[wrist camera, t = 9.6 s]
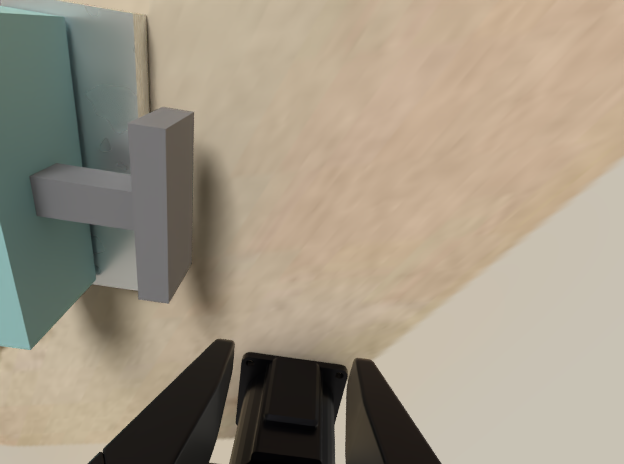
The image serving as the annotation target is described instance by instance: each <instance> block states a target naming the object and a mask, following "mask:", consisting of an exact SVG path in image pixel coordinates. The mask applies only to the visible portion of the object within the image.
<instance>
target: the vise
mask: <svg viewBox="0 0 624 464" xmlns="http://www.w3.org/2000/svg"><path fill="white" fill-rule="evenodd" d="M0 6H4V7H10V8H16V9H22V10H28V11H34V12H40V13H45V14H51V15H57V16H63V17H64V18H65V26H66V35H67V43H68V51H69V59H70V68H71V76H72V84H73V92H74V101H75V109H76V117H77V125H78V134H79V142H80V150H81V159H82V167H85V168H92V169H98V170H104V171H111V172H117V173H124V174H130V175H131V171H130V155H129V139H128V123H129V122H131V121H133V120H135V119H137V118H140V117H142V116H144V115H146V114H148V113H150V107H149V79H148V52H147V24H146V15H144V14H138V13H133V12H127V11H121V10H115V9H110V8H104V7H98V6H92V5H86V4H81V3H75V2H69V1H63V0H0ZM89 225H90V233H91V241H92V249H93V258H94V266H95V274H96V280H95V281H94V282H93V284H94V285H101V286H108V287H115V288H122V289H129V290H136V291H138V283H137V267H136V251H135V235H134V231H133V230H127V229H120V228H113V227H107V226H100V225H93V224H89Z"/></svg>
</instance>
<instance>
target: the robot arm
mask: <svg viewBox="0 0 624 464" xmlns="http://www.w3.org/2000/svg"><path fill="white" fill-rule="evenodd" d="M234 348H235V343H234V341H232V340H226V339H217V340H215V341H214V342H213V343H212V344H211V345H210V346H209V347H208V348H207V349H206V350H205V351H204V352H203V353H202V354H201V355H200V356H199V357H198V358H197V359H196V360H194V361H193V362H192V363H191V364H190V365H189V366H188V367H187V368H186V369H185V370H184V371H183V372H182V373H181V374H180V375H179V376H178V377H177V378H176V379H175V380H174V381H173V382H172V383H171V384H170V385H169V386H168V387H167V388H166V389H164V390H163V391H162V392H161V393H160V394H159V395H158V396H157V397H156V398H155V399H154V400H153V401H152V402H151V403H150V404H149V405H148V406H147V407H146V408H145V409H144V410H143V411H142V412H141V413H140V414H139V415H138V416H137V417H136V418H135V419H133V420H132V421H131V422H130V423H129V424H128V425H127V426H126V427H125V428H124V429H123V430H122V431H121V432H120V433H119V434H118V435H117V436H116V437H115V438H114V439H113V440H112V441H111V442H110V443H109V444H108V445H107V446H106V447H105V448H104V449H103V453H102V452H99V453H98V454H97V455H96V456H95V457H94V458H93V459H92V460H91V461H90V462H89V463H88V464H214V463H209V460H210V458H211V455H212V452H213V449H214V446H215V443H216V440H217V436H218V432H219V428H220V424H221V419H222V415H223V410H224V406H225V402H226V397H227V393H228V389H229V384H230V380H231V375H232V370H233V360H234ZM248 360H251V361H252V362H250V361H248ZM338 373H341V374H338ZM347 377H348V374H347V368H346V367H345V366H343V365H338V364H331V363H324V362H317V361H310V360H302V359H295V358H288V357H281V356H273V355H266V354H259V353H252V352H248V353H246V354H244V356H243V359H242V363H241V373H240V384H239V394H238V404H237V414H236V424H237V426H238V427H237V431H236V436H235V440H234V445H233V449H232V454H231V459H230V463H229V464H335V437H334V424H335V421H336V417H337V413H338V409H339V406H340V402H341V399H342V395H343V391H344V388H345V384H346V381H347ZM345 446H346V447H345V452H346V453H345V455H346V456H345V457H346V464H441V462H440V461H439V459H438V458H437V456H436V455H435V453H434V452H433V451H432V449H431V447H430V446H429V444H428V443H427V441H426V440H425V438H424V437H423V435H422V434H421V432H420V431H419V429H418V428H417V426H416V425H415V423H414V422H413V420H412V419H411V417H410V416H409V414H408V413H407V411H406V410H405V409H404V407H403V405H402V404H401V402H400V401H399V400H398V398H397V396H396V395H395V394H394V392H393V391H392V389H391V387H390V386H389V385H388V383H387V382H386V380H385V378H384V377H383V375H382V374H381V372H380V371H379V370H378V368H377V367H376V365H375V363H374V362H373V361H372V360H369V359H362V358H356V359H355V360H354V362H353V365H352V369H351V372H350V376H349V379H348V384H347V396H346V442H345Z"/></svg>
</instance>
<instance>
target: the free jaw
mask: <svg viewBox="0 0 624 464" xmlns="http://www.w3.org/2000/svg"><path fill="white" fill-rule="evenodd" d="M128 139H129V155H130V171H131V175H130V174H124V173H117V172H111V171H104V170H98V169H92V168H85V167H82V159H81V150H80V142H79V134H78V125H77V117H76V109H75V101H74V92H73V84H72V76H71V68H70V59H69V51H68V43H67V35H66V26H65V18H64V17H63V16H57V15H51V14H45V13H40V12H34V11H28V10H22V9H16V8H10V7H4V6H0V346H5V347H12V348H20V349H27V350H31V349H32V348H33V347H34V346H35V345H36V344H37V343H38V341H39V340H40V339H41V338H42V337H43V336H44V335H45V334H46V333H47V332H48V331H49V330H50V329H51V328H52V326H53V325H54V324H55V323H56V322H57V321H58V320H59V319H60V318H61V317H62V316H63V315H64V314H65V313H66V311H67V310H68V309H69V308H70V307H71V306H72V305H73V304H74V303H75V302H76V301H77V300H78V299H79V297H80V296H81V295H82V294H83V293H84V292H85V291H86V290H87V289H88V288H89V287H90V286H91V285H92V284H93V282H94V281H95V280H96V274H95V266H94V258H93V249H92V241H91V233H90V225H89V224H93V225H100V226H107V227H113V228H120V229H127V230H133V231H134V235H135V251H136V267H137V283H138V299H140V300H147V301H154V302H161V303H168V304H169V302H170V301H171V299H172V297H173V295H174V294H175V292H176V290H177V288H178V287H179V285H180V283H181V282H182V280H183V278H184V276H185V275H186V273H187V271H188V270H189V268H190V266H191V264H192V212H193V143H194V112H190V111H184V110H178V109H172V108H166V107H162V108H159V109H157V110H155V111H153V112H151V113H148V114H146V115H144V116H142V117H140V118H137V119H135V120H133V121H131V122H129V123H128Z"/></svg>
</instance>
